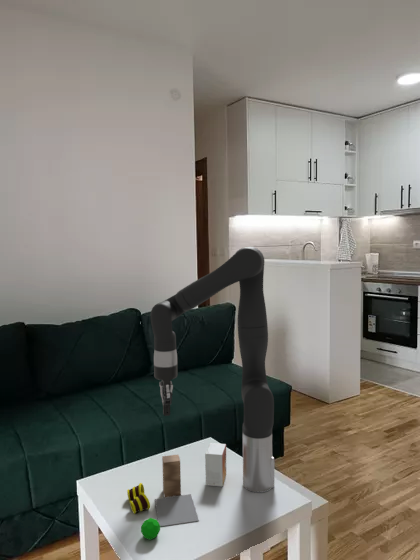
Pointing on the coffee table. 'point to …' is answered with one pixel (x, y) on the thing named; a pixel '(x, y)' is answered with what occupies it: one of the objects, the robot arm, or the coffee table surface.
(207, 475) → the small box
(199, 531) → the coffee table surface
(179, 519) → the mat
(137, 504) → the opera glasses
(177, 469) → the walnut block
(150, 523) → the polyhedron
